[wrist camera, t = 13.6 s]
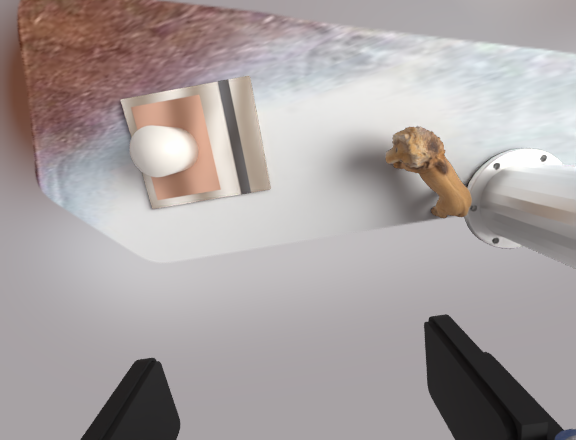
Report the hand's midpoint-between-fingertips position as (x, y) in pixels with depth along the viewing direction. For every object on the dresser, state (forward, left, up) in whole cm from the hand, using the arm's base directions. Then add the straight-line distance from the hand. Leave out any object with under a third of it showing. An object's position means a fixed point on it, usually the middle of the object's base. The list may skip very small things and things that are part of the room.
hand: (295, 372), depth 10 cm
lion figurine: (-16, -1, -29) cm, 33 cm away
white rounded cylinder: (+12, -9, -27) cm, 31 cm away
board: (+10, -9, -28) cm, 31 cm away
